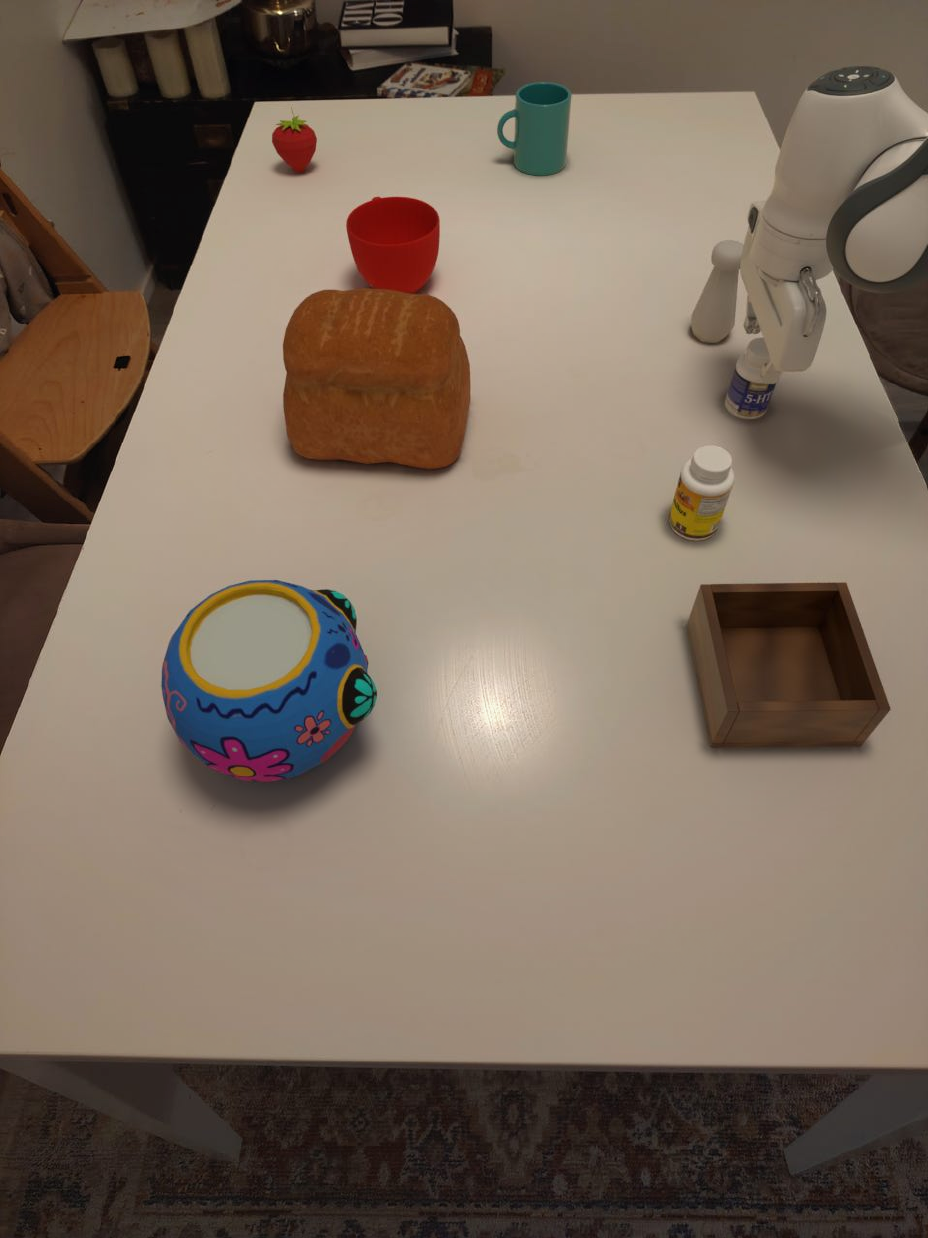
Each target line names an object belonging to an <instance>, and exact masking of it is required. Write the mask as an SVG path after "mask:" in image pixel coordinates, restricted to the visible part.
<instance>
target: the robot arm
mask: <svg viewBox="0 0 928 1238" xmlns="http://www.w3.org/2000/svg"><path fill="white" fill-rule="evenodd" d="M746 217H747V218H746V219H747V222H748V223H747V224H748V227H747V230H746V233H745V239H744V242H743V245H744V246H743V251H742V255H741V262H740V269H739V275H740V277H741V279H742V282H743V285H744V288H745V291H746V293H747V296H746V308H745V309H746V312H745V317H744V320H743V323H742V324H743V328H744V331H745V333H746V334H747V335H758V334H759V333H761V335H762V338H764V341H765V343H766V346H767V349H768V352H769V354H770V356H769V358H770V361H769V363H764V364H763V367H762V371H761V373H760V374H761V378H762V381H763V383H764V384H775V383H776V384H777V383H778V382H779V380H780V377H781V375H782V373H801V372H805V371H807V370H808V369H810V368H811V366H812V365H813V362H814V359H815V357H816V354H817V351H818V349H819V345H820V342H821V338H822V335H823V331H824V330H825V329H824V328H825V324H826V319H827V304H826V302H825V301H826V300H825V299H824V297H823V295H822V290H821V288H820V287H819V285H818V283H817V280H820V279H823V278H825V277H827V276H828V275H829V274H831V272H833V270H834V271H835V272H836V273H837V275H838V276H840V278H841V279H843V281H845V282H846V283H848V284H850V285H851V286H852V287H855V288H856V289H859V290H861V291H864V292H869V293H872V294H873V293H874V294H895V293H900V292H904V291H907V290H909V289H912V288H914V287H917V286H919V285H920V284H921V283H923V282H925V280H927V279H928V112H927V111H925V110H924V109H922V108H921V107H920V106H919V105H918V104H917V103H915V101H913V100H912V99H911V98H910V97H909V96H908V94H906V92H905V91H904V90H903V88H902V86H901V84H900V82H899V80H898V78H897V77H896V75H895V74H893V73H892V72H891V71H889V70H886V69H884V68H880V67H878V66H873V65H851V66H846V67H845V66H844V67H841V68H838V69H835V70H831V71H828V72H826V73H824V74H823V75H821V76H819V77H818V78H817V79H816V80H814V81H813V82H812V83H811V84H809V86H808V87H807V88H806V89H805V90H804V92H803V93H802V95H801V96H800V98H799V100H798V102H797V104H796V106H795V108H794V111H793V114H792V116H791V118H790V120H789V123H788V125H787V129H786V132H785V134H784V138H783V140H782V143H781V146H780V149H779V153H778V156H777V160H776V163H775V168H774V183H773V187H772V189H771V192H770V194H769V195H768V197H767V199H766V200H762V201H761V200H759V201H752V202H751V204H750V205H749V209H748V212H747V216H746Z"/></svg>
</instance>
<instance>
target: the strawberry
mask: <svg viewBox="0 0 928 1238" xmlns="http://www.w3.org/2000/svg"><path fill="white" fill-rule="evenodd" d="M290 109H291V114H292V115H293V117H292V118H291V120H284V119H281V120H279V123H276V124H275V126H277V127H275V129H274V130H273V132H272V133H271V143H272V146H273V147H274V149H275V151H276V154H277V155H278V156H279V157H280V158H281V159H282V160H283V161H284V162H285V164H287V165H288V166H289V167H290V168H291V169H292V170H293V171H294V172H295V173H297V174H303V173H304V172H305V171H306V169H307V167H309V165H310V163H311V162H312V159H313V157H314V155H315V153H316V151H317V142H318V139H317V135H316V132H315V130H314V129H313V128H311V127H310V126H309V125H308V124H307V123H306V122H307V120H304V119H299V117H300V115H296V116H295V114H294V111H293V108H292V107H290Z"/></svg>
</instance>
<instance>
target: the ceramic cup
mask: <svg viewBox="0 0 928 1238" xmlns="http://www.w3.org/2000/svg"><path fill="white" fill-rule="evenodd" d="M439 215H440V214H439V212H438V211H437V210H436V209H435V207H433V206H432V205H431V204H429V203H427V202H426V201H423V200H421V199H417V198H413V197H407V196H387V197H385V196H384V197H381V196H373V197H372V198H371V200H369V201H366V202H364V203H361V204H360V205H358V206H357V207H355V208H354V209H353V210H352V211H351V212H350V213H349V214H348V217H347V218H346V223H345V227H346V234H347V239H348V243H349V247H350V251H351V255H352V258H353V261H354V264H355V266H356V268H357V270H358V272H359V274H360V275H361V277H362V278H363V280H364V281H365V282H366V283H367V284H368V285H369V286H370V287H371V288H372V289H387V290H394V291H399V292H404V293H409V294H417V292H419V291H420V289H421V288H423V287H424V285H425V284H426V283H427V282H428V280H429V279H430V278H431V276H432V274H433V273H434V270H435V266H436V264H437V261H438V257H439V250H440V237H441V235H440V234H441V230H440V229H441V226H440V225H441V224H440V223H441V221H440V216H439Z"/></svg>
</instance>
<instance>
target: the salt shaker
mask: <svg viewBox="0 0 928 1238" xmlns="http://www.w3.org/2000/svg"><path fill="white" fill-rule="evenodd" d="M743 246H744V243H742V242H740V241H738V240H733V239H725V240H721V241H719V242H717V244H715V246H713V249H712V251H711V258H710V259H711V260H710V261H711V264H712V266H713V268H712V270H711V272H710V274H709V276H708V278H707V281H706V283H705V285H704V287H703V289H702V292H701V293H700V295H699V298H698V300H697V303H696V304H695V307H694V309H693V310H692V312H691V315H690V316H691V317H690V326H691V331H692V335H693V336H694V337H695V338H696V339H697V340H699V341H700V342H701V343H708V344H717V343H719V342H721V341H722V340H724V339H725V338H726V337H727V336H728V334H730V332H732V330H733V328H734V327H735V325H736V324H735V323H736V311H737V301H738V300H737V298H738V286H739V275H740V262H741V255H742V251H743Z"/></svg>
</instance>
